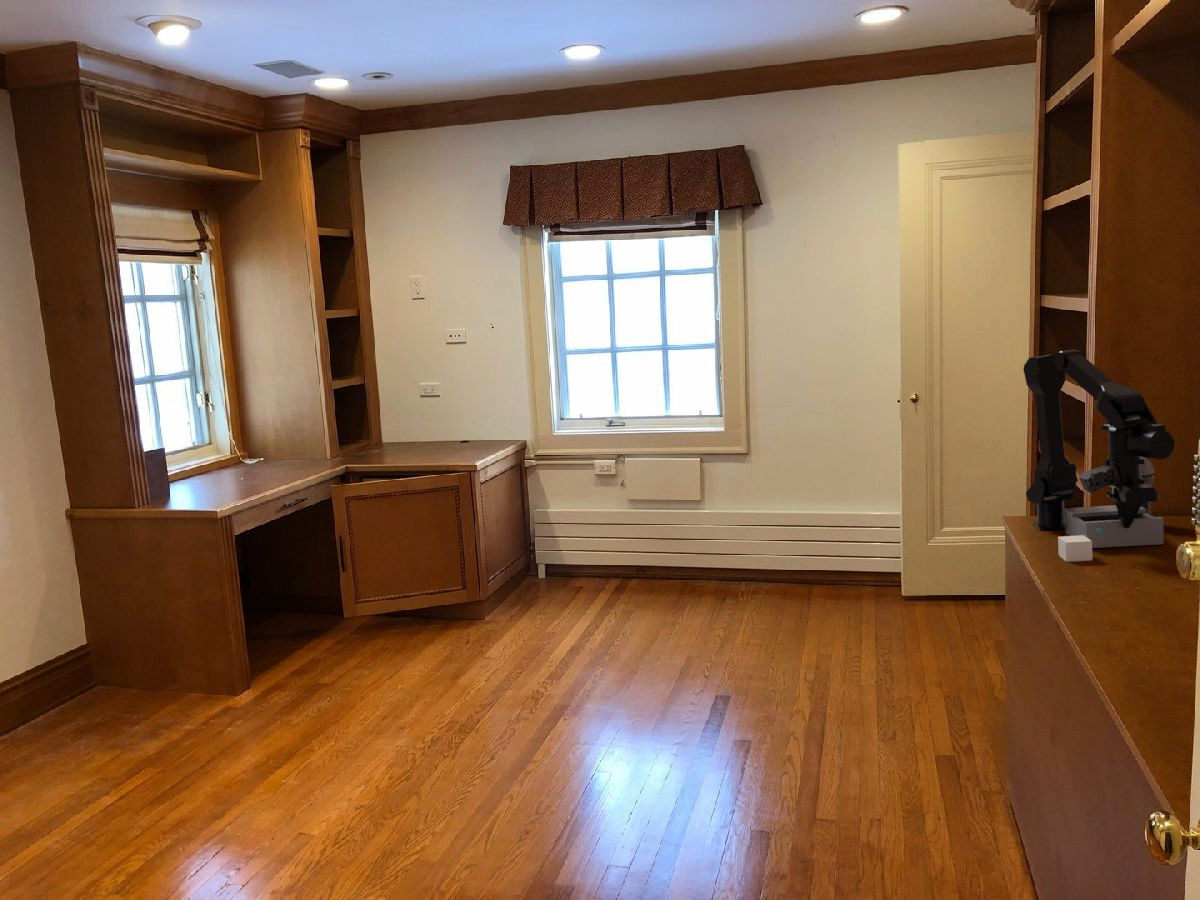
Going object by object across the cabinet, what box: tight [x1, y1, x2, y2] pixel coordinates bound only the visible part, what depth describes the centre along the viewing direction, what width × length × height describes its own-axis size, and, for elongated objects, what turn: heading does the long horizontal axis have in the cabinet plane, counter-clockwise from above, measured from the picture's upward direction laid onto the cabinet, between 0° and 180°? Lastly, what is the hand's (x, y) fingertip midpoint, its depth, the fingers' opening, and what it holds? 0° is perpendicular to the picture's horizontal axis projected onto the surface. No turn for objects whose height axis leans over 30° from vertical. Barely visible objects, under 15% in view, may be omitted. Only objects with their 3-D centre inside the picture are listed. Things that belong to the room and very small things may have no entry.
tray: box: [1084, 516, 1165, 549], centre depth 210 cm, size 14×15×6 cm
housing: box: [1064, 504, 1156, 536], centre depth 212 cm, size 13×15×6 cm
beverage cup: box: [1138, 456, 1156, 515], centre depth 221 cm, size 7×7×20 cm
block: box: [1057, 535, 1093, 563], centre depth 201 cm, size 5×5×4 cm
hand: (1126, 527), depth 203 cm, fingers closed
